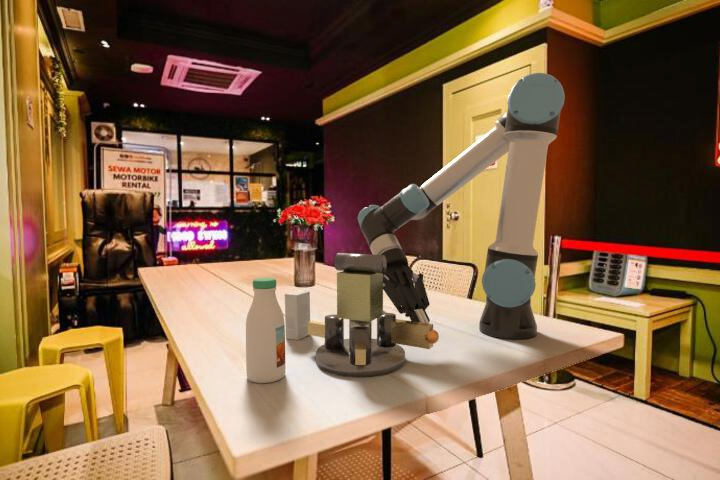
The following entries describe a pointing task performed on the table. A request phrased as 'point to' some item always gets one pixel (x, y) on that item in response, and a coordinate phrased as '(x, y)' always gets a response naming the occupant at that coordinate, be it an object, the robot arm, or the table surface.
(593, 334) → the table surface
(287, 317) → the skincare box
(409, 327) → the knob lever
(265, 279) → the milk bottle
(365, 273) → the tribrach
